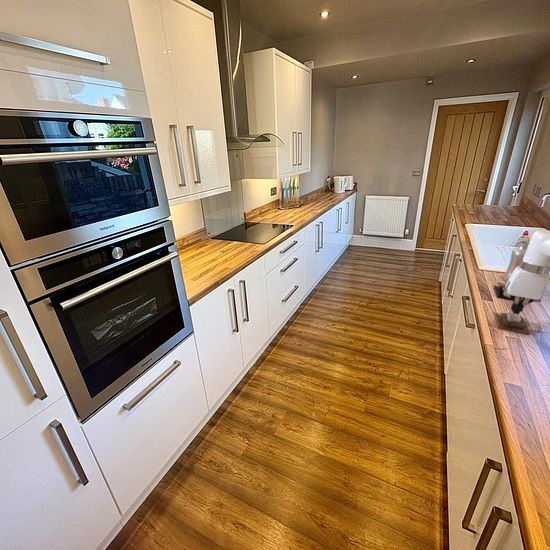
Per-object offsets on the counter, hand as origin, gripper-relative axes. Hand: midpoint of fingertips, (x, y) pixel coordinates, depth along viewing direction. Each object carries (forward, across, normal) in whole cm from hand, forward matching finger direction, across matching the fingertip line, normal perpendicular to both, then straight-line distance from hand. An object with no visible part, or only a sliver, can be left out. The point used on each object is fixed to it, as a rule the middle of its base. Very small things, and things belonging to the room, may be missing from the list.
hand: (515, 312), depth 106 cm
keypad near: (+6, 0, 0) cm, 6 cm away
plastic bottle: (+6, -7, -43) cm, 44 cm away
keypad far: (+6, -4, -27) cm, 28 cm away
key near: (+3, 0, 0) cm, 3 cm away
